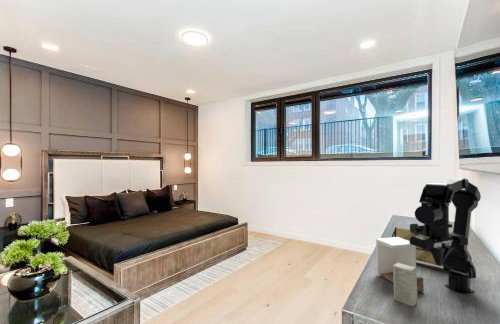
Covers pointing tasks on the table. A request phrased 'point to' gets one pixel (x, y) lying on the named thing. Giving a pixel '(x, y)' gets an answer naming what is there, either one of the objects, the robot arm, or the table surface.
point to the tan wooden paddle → (419, 280)
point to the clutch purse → (421, 253)
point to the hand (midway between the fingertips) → (438, 265)
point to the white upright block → (393, 254)
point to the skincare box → (405, 283)
